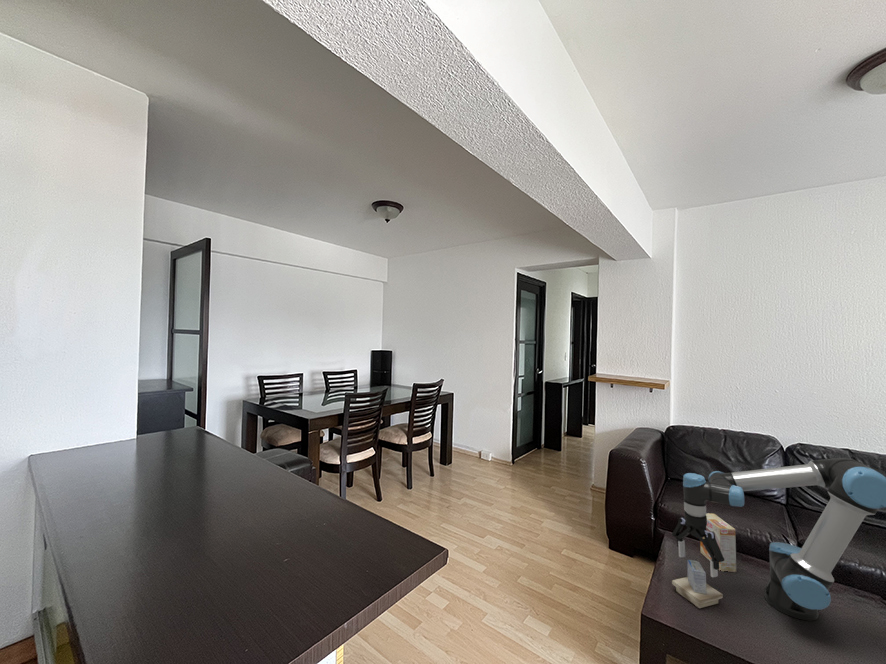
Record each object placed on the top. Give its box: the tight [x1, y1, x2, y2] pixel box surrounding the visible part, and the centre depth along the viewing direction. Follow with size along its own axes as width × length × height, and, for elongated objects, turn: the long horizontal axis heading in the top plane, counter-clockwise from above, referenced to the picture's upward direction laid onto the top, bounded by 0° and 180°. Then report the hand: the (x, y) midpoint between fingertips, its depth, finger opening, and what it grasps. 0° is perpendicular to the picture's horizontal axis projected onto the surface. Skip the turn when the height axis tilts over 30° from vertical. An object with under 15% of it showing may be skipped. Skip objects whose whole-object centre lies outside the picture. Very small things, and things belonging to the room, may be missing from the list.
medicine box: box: [686, 559, 707, 594], centre depth 145 cm, size 8×4×9 cm, turn 160°
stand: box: [671, 576, 723, 609], centre depth 145 cm, size 12×12×4 cm
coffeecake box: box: [699, 512, 737, 573], centre depth 168 cm, size 15×7×20 cm, turn 174°
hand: (697, 566), depth 145 cm, fingers open, 13 cm apart
